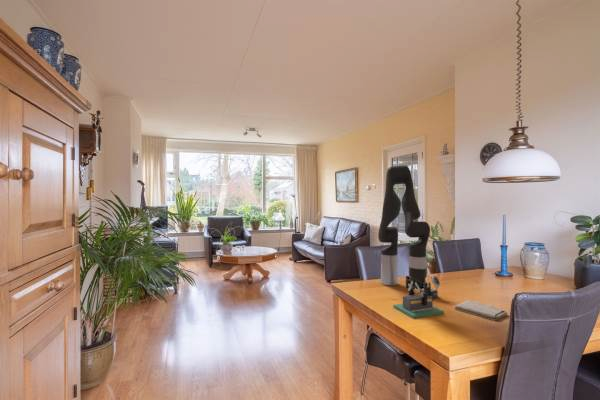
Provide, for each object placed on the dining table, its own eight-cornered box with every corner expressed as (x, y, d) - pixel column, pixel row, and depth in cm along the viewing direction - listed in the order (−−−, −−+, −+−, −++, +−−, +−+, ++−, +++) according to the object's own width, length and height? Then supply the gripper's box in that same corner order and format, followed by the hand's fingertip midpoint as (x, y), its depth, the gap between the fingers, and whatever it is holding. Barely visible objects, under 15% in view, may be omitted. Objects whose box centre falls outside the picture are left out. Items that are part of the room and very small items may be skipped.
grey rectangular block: (409, 311, 139) (409, 299, 139) (402, 307, 144) (402, 296, 144) (432, 307, 143) (432, 296, 143) (425, 304, 148) (425, 293, 148)
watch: (436, 299, 158) (436, 277, 157) (421, 296, 163) (420, 274, 163) (441, 297, 161) (441, 275, 161) (426, 293, 167) (425, 272, 167)
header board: (393, 307, 148) (393, 297, 147) (422, 303, 152) (422, 293, 152) (412, 318, 134) (412, 307, 134) (443, 313, 139) (443, 303, 139)
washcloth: (496, 322, 130) (496, 315, 130) (453, 310, 144) (453, 303, 144) (508, 315, 137) (508, 308, 137) (466, 304, 152) (466, 298, 152)
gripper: (400, 263, 149) (401, 298, 149) (421, 270, 135) (421, 308, 135) (414, 262, 151) (414, 296, 151) (435, 268, 137) (436, 306, 138)
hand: (417, 302), depth 143 cm, fingers open, 8 cm apart
